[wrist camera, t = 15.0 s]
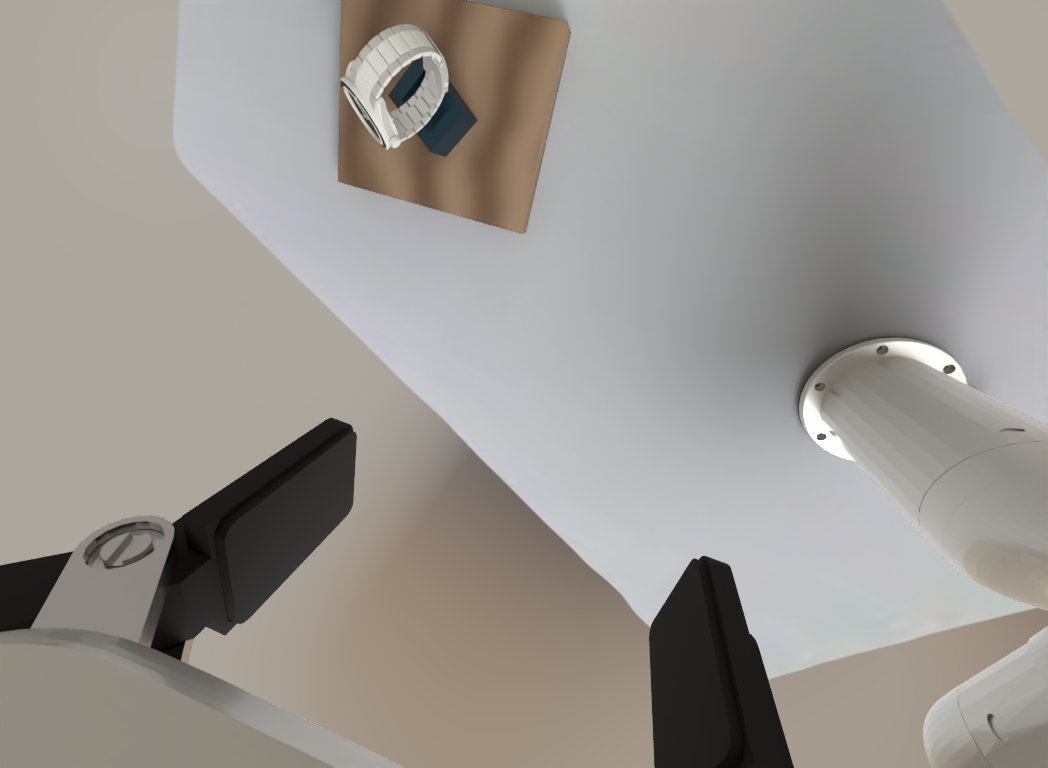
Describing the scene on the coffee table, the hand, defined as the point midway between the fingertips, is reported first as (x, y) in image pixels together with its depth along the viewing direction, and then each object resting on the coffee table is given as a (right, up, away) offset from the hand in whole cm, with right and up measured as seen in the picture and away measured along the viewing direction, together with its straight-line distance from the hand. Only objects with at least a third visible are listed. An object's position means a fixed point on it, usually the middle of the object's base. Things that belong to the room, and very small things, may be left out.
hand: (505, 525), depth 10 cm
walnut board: (-7, +29, +27) cm, 40 cm away
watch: (-7, +28, +25) cm, 38 cm away
